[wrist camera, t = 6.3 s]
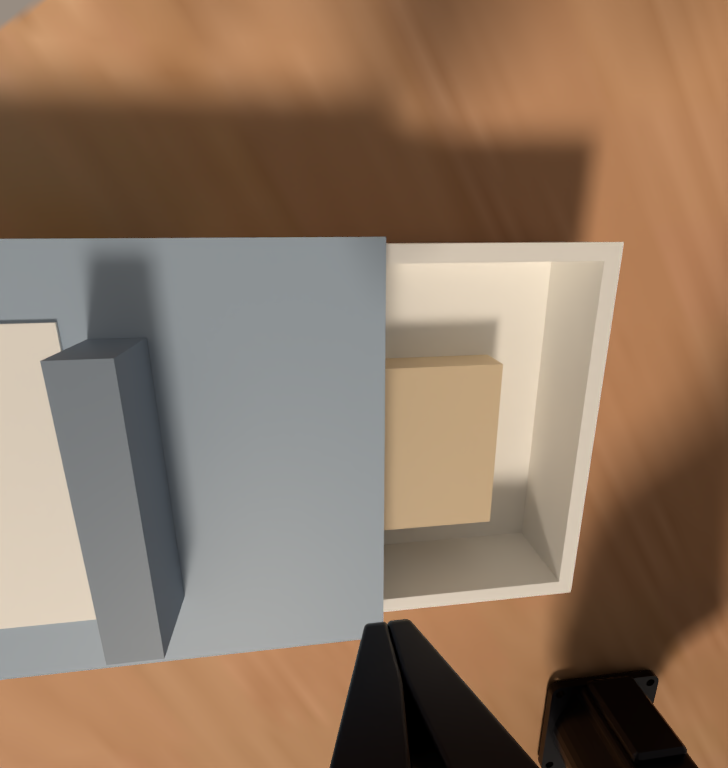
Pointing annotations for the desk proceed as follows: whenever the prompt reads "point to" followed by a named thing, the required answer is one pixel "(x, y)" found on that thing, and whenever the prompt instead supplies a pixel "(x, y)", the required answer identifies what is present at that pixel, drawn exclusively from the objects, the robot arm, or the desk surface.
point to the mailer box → (490, 414)
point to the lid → (188, 447)
